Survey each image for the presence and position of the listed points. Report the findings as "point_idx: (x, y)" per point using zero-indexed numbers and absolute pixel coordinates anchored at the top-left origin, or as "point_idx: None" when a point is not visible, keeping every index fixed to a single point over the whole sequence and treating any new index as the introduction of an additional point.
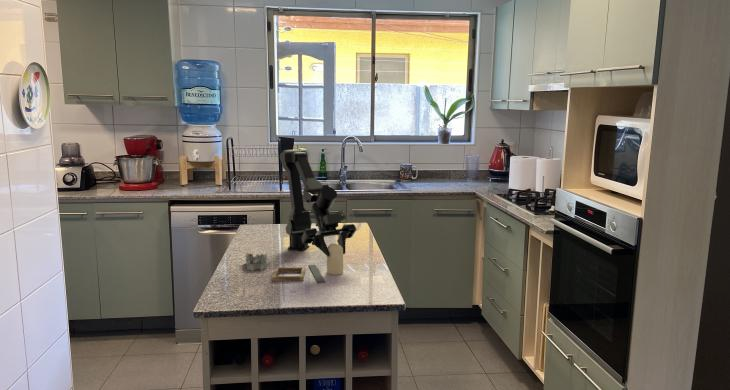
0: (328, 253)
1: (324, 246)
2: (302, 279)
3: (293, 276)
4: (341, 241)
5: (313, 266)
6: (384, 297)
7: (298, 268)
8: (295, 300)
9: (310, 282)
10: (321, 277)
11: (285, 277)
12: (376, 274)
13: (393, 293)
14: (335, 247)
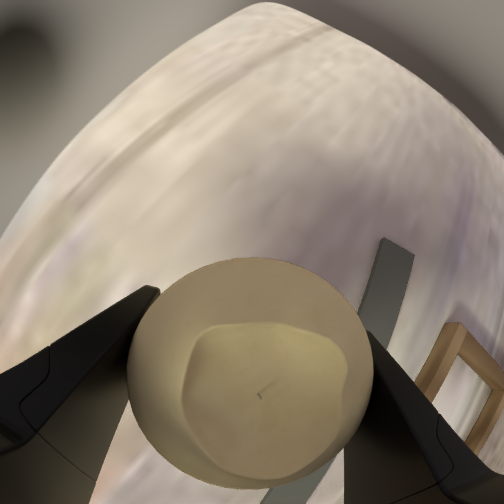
0: (372, 340)
1: (432, 410)
2: (452, 325)
3: (479, 352)
4: (69, 427)
5: (287, 494)
6: (269, 20)
7: None
8: (495, 177)
9: (430, 288)
10: (372, 301)
11: (494, 362)
12: (90, 162)
13: (223, 21)
14: (310, 310)
